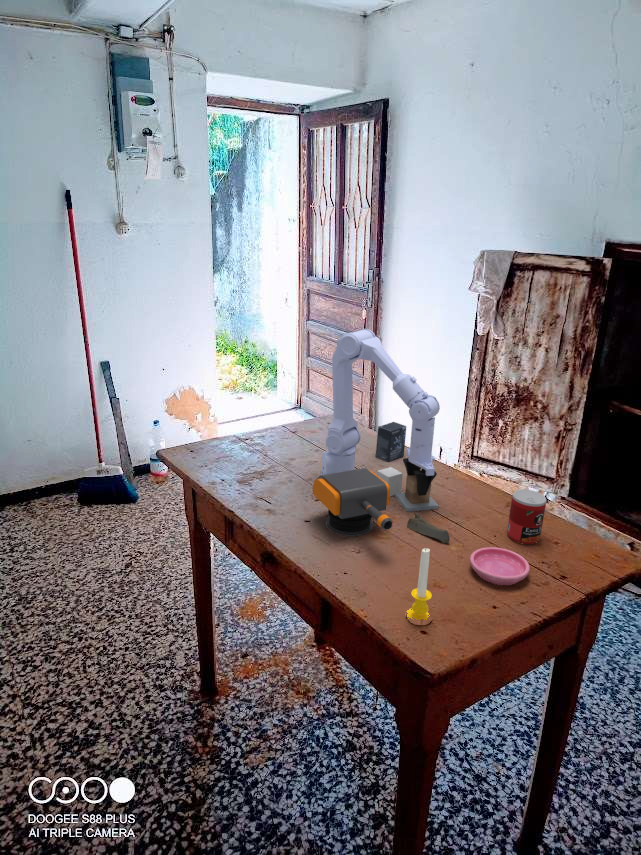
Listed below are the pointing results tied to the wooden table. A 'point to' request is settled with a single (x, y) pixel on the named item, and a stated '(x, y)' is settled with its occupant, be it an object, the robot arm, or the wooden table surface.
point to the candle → (421, 590)
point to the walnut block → (415, 491)
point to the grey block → (391, 479)
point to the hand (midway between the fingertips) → (417, 489)
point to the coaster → (415, 507)
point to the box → (390, 441)
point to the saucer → (499, 565)
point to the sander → (353, 501)
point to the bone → (427, 529)
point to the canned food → (526, 516)
